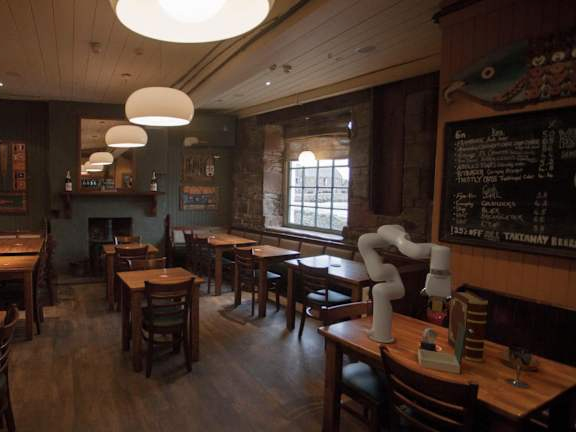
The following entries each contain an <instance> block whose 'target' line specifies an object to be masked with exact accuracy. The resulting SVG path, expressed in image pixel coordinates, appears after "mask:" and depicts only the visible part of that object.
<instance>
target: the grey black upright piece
mask: <svg viewBox="0 0 576 432" xmlns="http://www.w3.org/2000/svg"><path fill="white" fill-rule="evenodd" d="M427 336H429V339H428V337H427ZM437 336H438V332H437V331H436V330H435V329H434V328H431V327H426V328H424V330H423V331H422V341H420V347H419V349H421V350H427V351H433V352H436V350H437V344H436V343H434V342H435V340H436V338H437Z"/></svg>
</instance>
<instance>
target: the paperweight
mask: <svg viewBox="0 0 576 432" xmlns="http://www.w3.org/2000/svg"><path fill="white" fill-rule="evenodd" d="M442 306H443V304H442V300H441V301H440V300H433V299H432V310H431V311H432V312H438V313H443V312H442Z"/></svg>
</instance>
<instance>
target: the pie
mask: <svg viewBox="0 0 576 432" xmlns="http://www.w3.org/2000/svg"><path fill="white" fill-rule="evenodd" d="M498 357H499V358H500V359H501V360H502V362H503V364H505V365H506V366H508V367H510V368H512V369H513V370H516V368H515V367H514V366H513V365H512V363H511V362H510V360H509V355H508V350H505V351H499V352H498ZM541 364H542V363H541V361H540V360H539V359H537V358H536V357H534V356H532V361H531V363H530V365H529V366H528V367H526V368H525V369H523V370H522V372H523V371H524V372H533V371H535V370H536V369H537V368H538V367H540V366H541Z"/></svg>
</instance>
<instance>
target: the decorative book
mask: <svg viewBox="0 0 576 432" xmlns="http://www.w3.org/2000/svg"><path fill="white" fill-rule="evenodd" d="M451 292H452V293H453V295H454V296H455V298H454V299H452V300H450V301H449V315H448V316H449V317H448V318H449V319H448V332H447V343H448V345H450V347H452V349H454V350H455V345H456V339H457V333H458V326H459V322H461V323H462V325H463V326H464V328H465V329H472V330H473V331H474V333H475V335H474V336H472V335H471V334H467V333H466V338H465V344H464V350H463V356H462V358H464V359H465V360H467V361H470V362H471V361H472V362H477V363H480V362H484V360H485V359H484V351H485V342H486V339H485V332H486V324H487V320H486V319H487V315H488V312H487V308H488V307H487V306H488V305H489V301H488V300H486V299H485V298H482V297H480V296H478V295H477V294H475V293H473V292H471V291H469V290H467V289H465V292H458V291H456V290H454V289H451ZM466 332H469V331H466Z"/></svg>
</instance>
